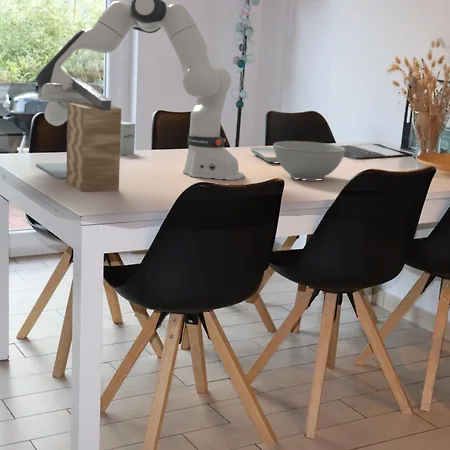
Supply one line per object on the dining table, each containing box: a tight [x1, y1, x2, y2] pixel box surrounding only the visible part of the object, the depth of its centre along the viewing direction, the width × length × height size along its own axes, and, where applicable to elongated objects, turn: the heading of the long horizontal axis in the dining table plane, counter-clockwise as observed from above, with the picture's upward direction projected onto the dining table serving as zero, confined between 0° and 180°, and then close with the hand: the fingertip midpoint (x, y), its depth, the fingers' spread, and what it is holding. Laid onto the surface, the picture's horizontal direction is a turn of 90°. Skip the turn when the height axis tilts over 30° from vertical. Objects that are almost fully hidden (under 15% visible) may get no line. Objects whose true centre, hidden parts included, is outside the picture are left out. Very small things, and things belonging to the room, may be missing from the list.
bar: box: [70, 77, 112, 110], centre depth 253 cm, size 30×3×3 cm, turn 29°
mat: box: [35, 162, 67, 180], centre depth 278 cm, size 26×14×1 cm, turn 29°
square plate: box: [248, 146, 279, 163], centre depth 337 cm, size 27×27×4 cm
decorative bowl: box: [272, 140, 346, 180], centre depth 295 cm, size 27×27×12 cm
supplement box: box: [120, 121, 136, 156], centre depth 325 cm, size 7×7×13 cm
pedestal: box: [65, 103, 122, 193], centre depth 253 cm, size 16×12×26 cm
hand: (78, 82), depth 261 cm, fingers closed on bar, 3 cm apart
